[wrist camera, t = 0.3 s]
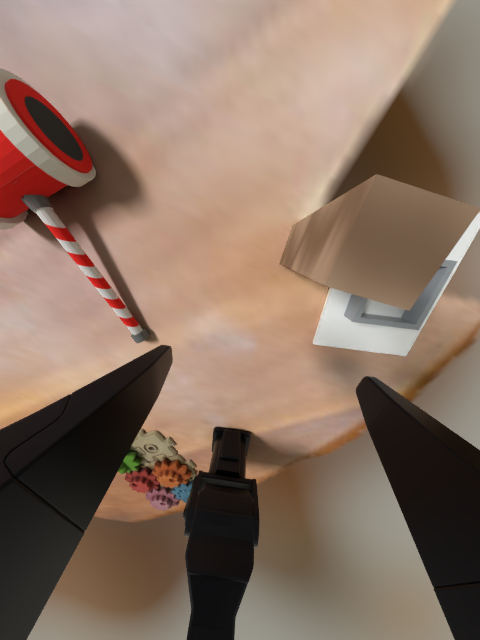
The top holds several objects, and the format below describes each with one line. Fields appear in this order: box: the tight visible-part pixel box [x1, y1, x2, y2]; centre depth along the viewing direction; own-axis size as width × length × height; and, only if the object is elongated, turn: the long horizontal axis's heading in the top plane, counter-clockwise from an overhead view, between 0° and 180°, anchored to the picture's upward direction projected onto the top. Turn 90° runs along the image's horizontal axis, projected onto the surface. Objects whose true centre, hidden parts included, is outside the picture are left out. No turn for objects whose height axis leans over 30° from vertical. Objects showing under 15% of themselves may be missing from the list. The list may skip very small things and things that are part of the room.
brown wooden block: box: [280, 175, 480, 311], centre depth 13 cm, size 4×4×13 cm
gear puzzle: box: [118, 429, 198, 511], centre depth 34 cm, size 31×16×4 cm, turn 25°
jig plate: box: [313, 213, 480, 356], centre depth 19 cm, size 16×12×2 cm
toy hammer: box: [0, 69, 150, 343], centre depth 18 cm, size 23×12×6 cm, turn 21°
